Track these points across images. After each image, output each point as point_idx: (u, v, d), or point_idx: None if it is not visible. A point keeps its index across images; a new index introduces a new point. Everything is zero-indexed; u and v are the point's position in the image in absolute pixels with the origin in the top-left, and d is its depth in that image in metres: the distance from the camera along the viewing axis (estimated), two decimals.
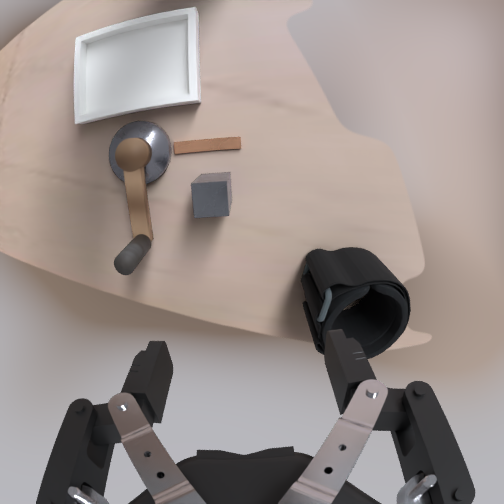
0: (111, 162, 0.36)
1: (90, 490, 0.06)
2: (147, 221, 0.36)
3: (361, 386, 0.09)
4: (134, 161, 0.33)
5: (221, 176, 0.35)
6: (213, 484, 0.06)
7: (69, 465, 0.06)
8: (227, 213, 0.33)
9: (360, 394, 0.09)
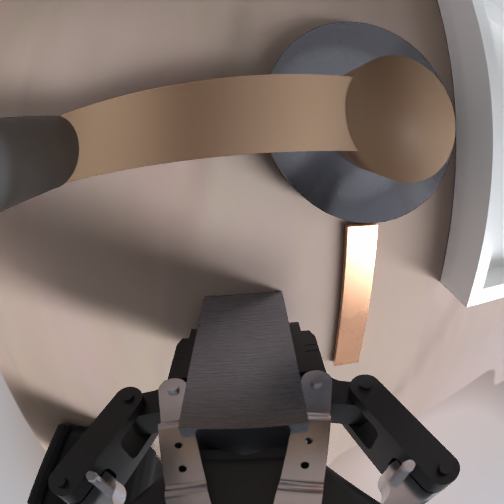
0: (349, 26, 0.09)
1: (111, 478, 0.07)
2: None
3: (303, 380, 0.10)
4: (383, 132, 0.08)
5: None
6: (213, 484, 0.06)
7: (97, 450, 0.07)
8: None
9: (303, 383, 0.10)
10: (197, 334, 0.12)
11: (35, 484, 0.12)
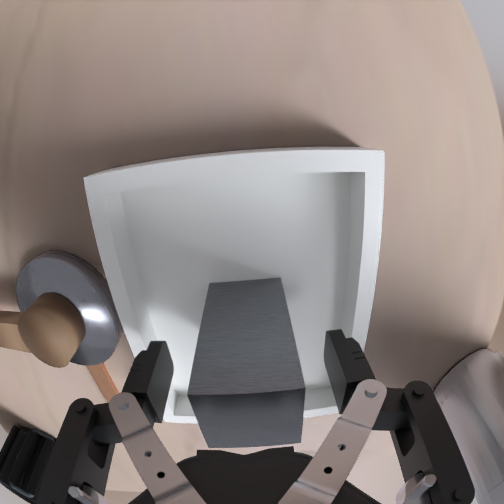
0: (34, 264, 0.15)
1: (90, 490, 0.06)
2: None
3: (359, 386, 0.09)
4: (36, 347, 0.14)
5: None
6: (213, 484, 0.06)
7: (69, 465, 0.06)
8: (214, 446, 0.10)
9: (359, 394, 0.09)
10: (203, 315, 0.13)
11: None
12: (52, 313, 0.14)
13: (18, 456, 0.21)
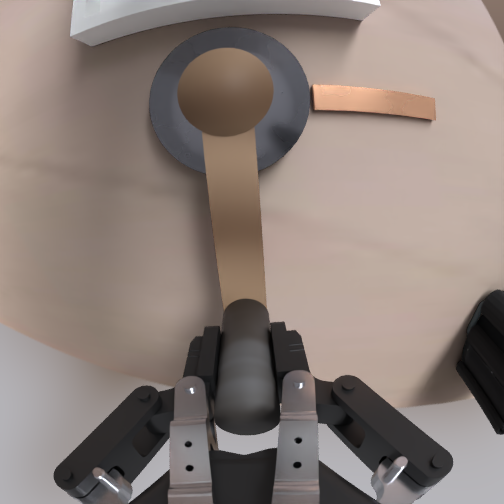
0: (155, 120, 0.14)
1: (118, 475, 0.07)
2: None
3: (285, 380, 0.10)
4: (238, 108, 0.12)
5: None
6: (213, 484, 0.06)
7: (107, 447, 0.07)
8: None
9: (285, 383, 0.10)
10: None
11: (487, 416, 0.17)
12: None
13: (493, 370, 0.18)
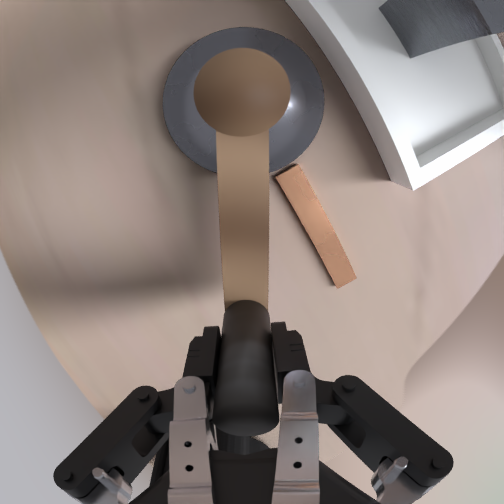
0: (193, 48, 0.13)
1: (118, 475, 0.07)
2: (268, 271, 0.15)
3: (286, 380, 0.10)
4: (254, 110, 0.12)
5: None
6: (213, 484, 0.06)
7: (107, 447, 0.07)
8: (493, 30, 0.06)
9: (286, 383, 0.10)
10: None
11: None
12: None
13: None
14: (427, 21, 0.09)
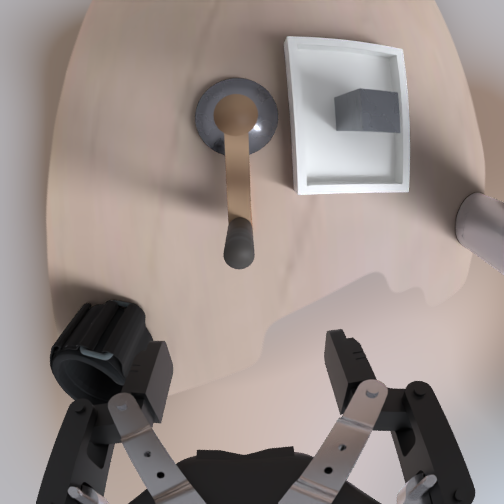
0: (227, 81, 0.27)
1: (90, 490, 0.06)
2: (250, 201, 0.30)
3: (361, 386, 0.09)
4: (241, 124, 0.27)
5: None
6: (213, 484, 0.06)
7: (69, 465, 0.06)
8: (365, 129, 0.23)
9: (360, 394, 0.09)
10: (343, 94, 0.26)
11: (61, 335, 0.31)
12: None
13: (93, 322, 0.33)
14: (346, 115, 0.26)
